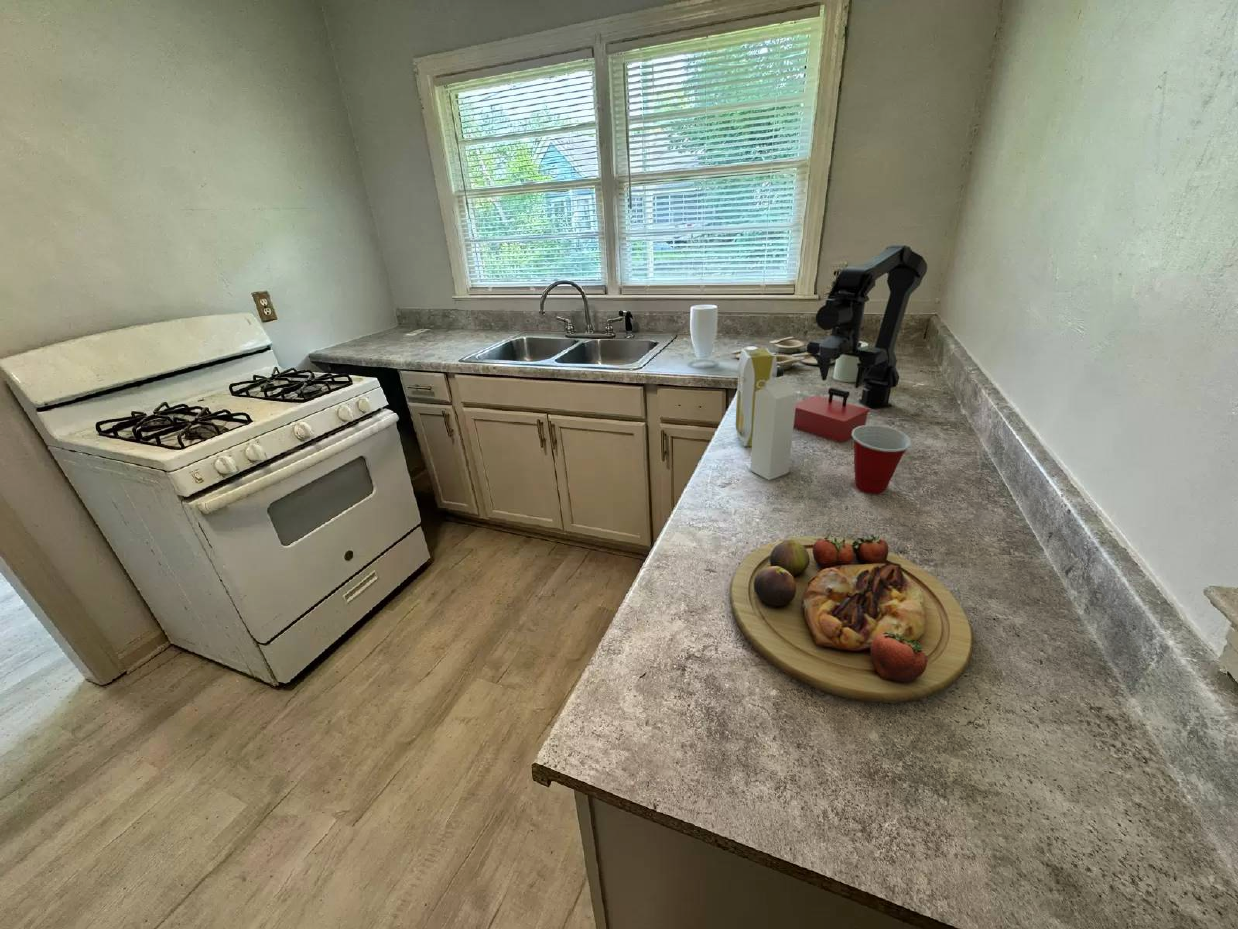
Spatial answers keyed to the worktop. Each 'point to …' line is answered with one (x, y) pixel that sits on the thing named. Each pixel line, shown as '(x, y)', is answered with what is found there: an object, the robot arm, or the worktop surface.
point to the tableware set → (788, 347)
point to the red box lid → (831, 407)
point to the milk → (773, 428)
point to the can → (848, 366)
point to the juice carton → (751, 387)
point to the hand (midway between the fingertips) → (840, 383)
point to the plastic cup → (877, 456)
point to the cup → (703, 329)
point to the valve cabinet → (827, 426)
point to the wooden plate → (851, 618)
